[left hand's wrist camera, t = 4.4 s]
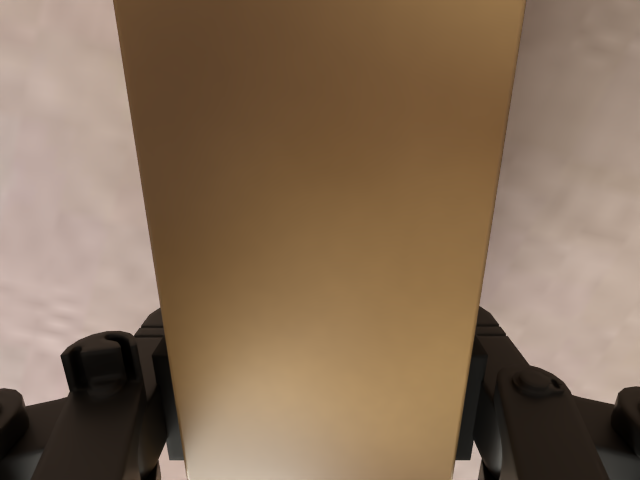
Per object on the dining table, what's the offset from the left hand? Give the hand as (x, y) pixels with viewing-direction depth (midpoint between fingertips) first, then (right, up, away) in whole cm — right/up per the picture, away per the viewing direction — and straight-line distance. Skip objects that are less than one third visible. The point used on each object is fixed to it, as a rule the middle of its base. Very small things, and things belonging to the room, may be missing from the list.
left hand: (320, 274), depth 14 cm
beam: (0, +17, -6) cm, 18 cm away
